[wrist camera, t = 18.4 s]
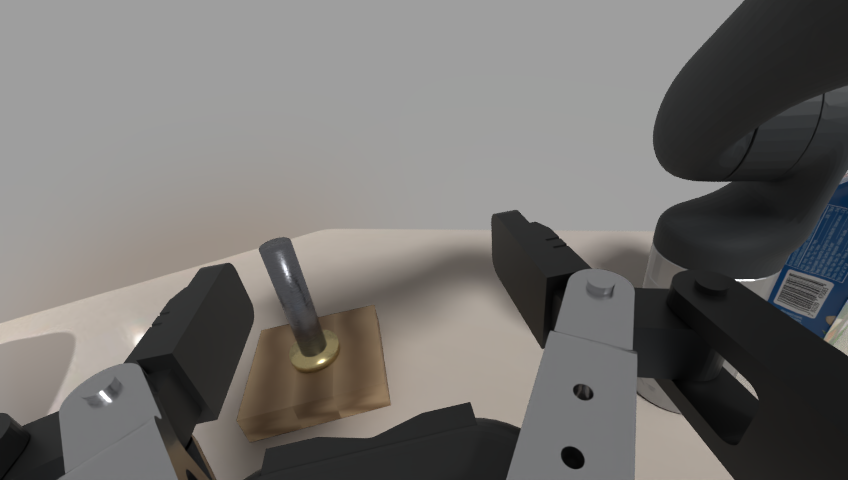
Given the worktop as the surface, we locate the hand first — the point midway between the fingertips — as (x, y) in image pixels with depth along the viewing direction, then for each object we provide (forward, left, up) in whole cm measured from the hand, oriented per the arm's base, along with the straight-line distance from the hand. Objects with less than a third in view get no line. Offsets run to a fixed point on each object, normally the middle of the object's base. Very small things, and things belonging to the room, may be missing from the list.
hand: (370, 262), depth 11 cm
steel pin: (+10, -25, -31) cm, 41 cm away
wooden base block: (+10, -25, -31) cm, 41 cm away
